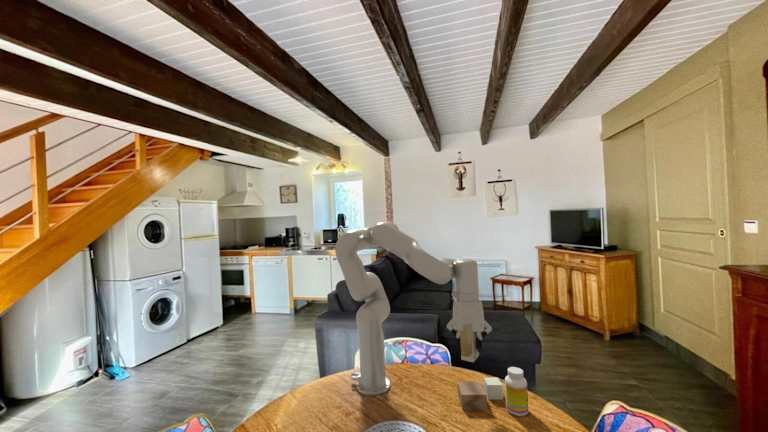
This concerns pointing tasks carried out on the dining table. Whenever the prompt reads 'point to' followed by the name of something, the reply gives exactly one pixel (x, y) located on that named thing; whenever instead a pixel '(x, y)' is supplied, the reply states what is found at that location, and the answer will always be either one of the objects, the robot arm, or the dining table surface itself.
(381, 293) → the robot arm
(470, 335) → the skincare box
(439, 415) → the dining table surface
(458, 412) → the dining table surface
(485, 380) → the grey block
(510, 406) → the supplement bottle
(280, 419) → the dining table surface
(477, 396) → the walnut block
